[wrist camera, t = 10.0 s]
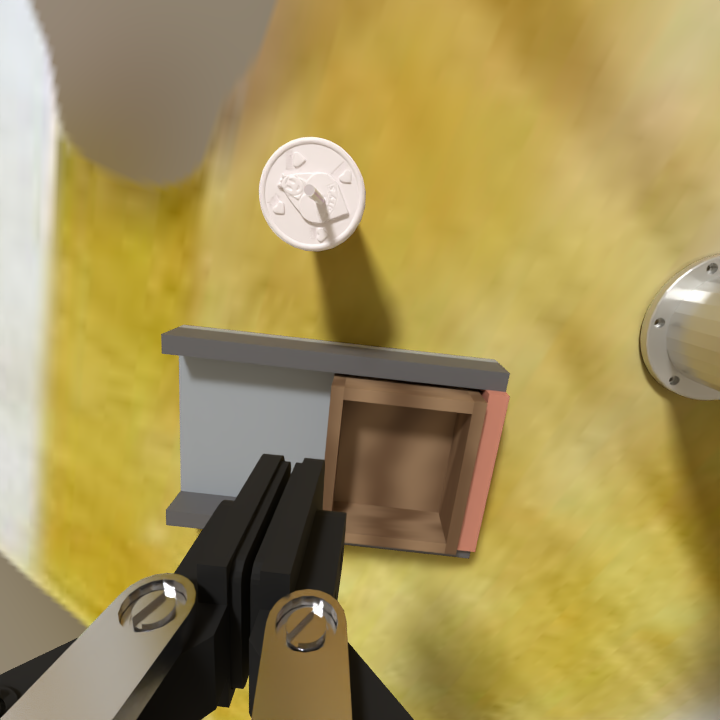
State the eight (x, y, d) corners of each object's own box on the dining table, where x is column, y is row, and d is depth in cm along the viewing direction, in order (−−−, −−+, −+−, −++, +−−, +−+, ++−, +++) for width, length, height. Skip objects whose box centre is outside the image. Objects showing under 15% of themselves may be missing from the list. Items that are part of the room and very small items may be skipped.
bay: (494, 359, 36) (514, 377, 31) (459, 529, 41) (471, 566, 36) (183, 324, 36) (155, 337, 31) (185, 498, 41) (160, 532, 36)
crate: (471, 382, 36) (487, 403, 31) (445, 517, 39) (455, 554, 35) (336, 367, 36) (331, 386, 31) (323, 503, 39) (316, 539, 35)
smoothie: (347, 263, 34) (332, 274, 21) (277, 229, 34) (215, 218, 20) (380, 189, 33) (386, 148, 19) (307, 152, 32) (261, 84, 19)
